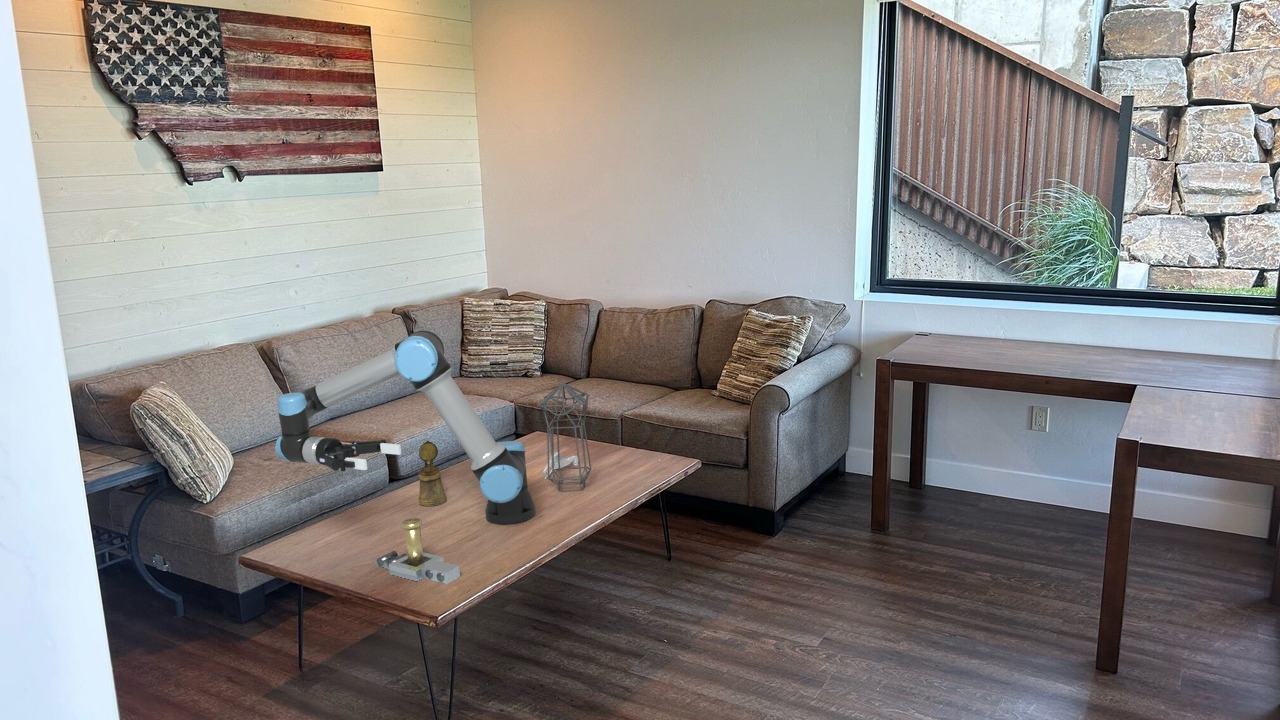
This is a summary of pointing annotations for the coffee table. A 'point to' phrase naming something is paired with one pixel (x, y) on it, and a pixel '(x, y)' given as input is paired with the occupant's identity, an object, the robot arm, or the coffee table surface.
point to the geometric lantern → (585, 403)
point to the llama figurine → (562, 462)
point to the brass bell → (430, 477)
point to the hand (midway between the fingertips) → (383, 457)
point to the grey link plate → (419, 567)
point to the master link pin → (413, 541)
